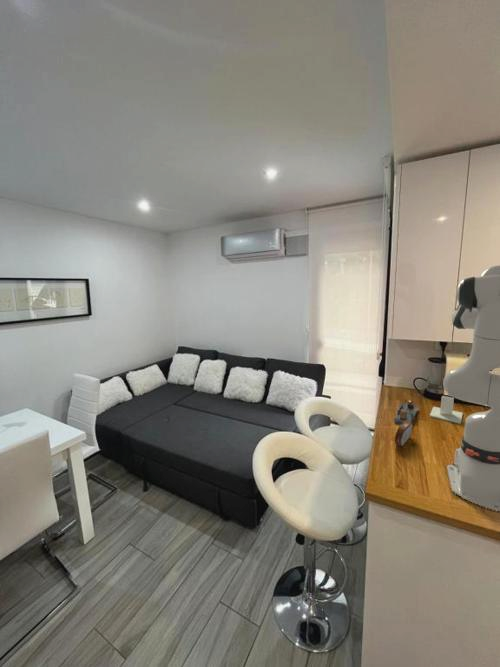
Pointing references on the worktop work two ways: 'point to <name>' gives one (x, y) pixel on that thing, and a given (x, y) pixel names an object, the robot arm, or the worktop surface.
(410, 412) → the hand plane
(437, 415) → the cutting board
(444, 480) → the worktop surface
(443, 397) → the grey rectangular block
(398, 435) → the tin
